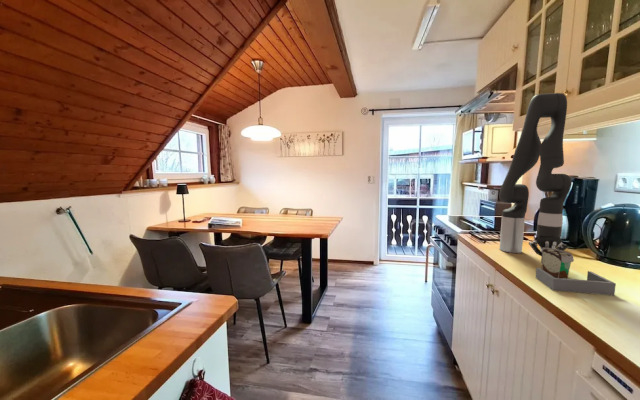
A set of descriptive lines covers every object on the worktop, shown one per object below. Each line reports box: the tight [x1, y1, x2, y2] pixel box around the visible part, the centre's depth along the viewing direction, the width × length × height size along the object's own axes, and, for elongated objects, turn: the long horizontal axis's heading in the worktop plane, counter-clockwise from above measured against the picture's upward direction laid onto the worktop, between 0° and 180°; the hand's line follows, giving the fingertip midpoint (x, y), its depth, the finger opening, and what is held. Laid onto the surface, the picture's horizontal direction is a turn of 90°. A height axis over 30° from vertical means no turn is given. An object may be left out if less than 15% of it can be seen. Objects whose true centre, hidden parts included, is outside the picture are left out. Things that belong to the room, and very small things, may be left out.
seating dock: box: [535, 267, 616, 296], centre depth 93 cm, size 10×17×4 cm, turn 77°
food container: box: [540, 247, 575, 279], centre depth 100 cm, size 12×6×10 cm, turn 168°
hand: (545, 265), depth 108 cm, fingers closed
